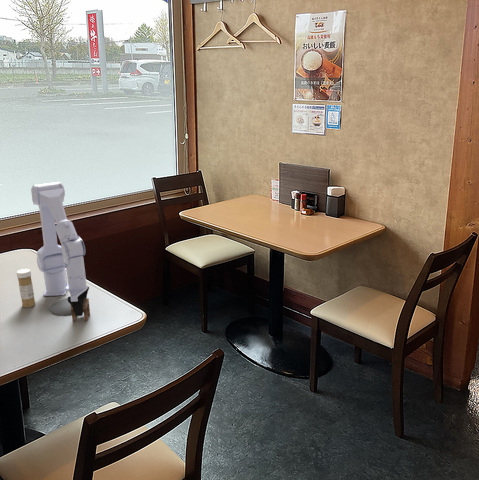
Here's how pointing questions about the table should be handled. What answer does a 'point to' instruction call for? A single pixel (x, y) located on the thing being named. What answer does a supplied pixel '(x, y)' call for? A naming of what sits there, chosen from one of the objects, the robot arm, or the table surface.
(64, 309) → the mat
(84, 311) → the stool
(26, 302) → the sprinkles bottle
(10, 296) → the table surface
